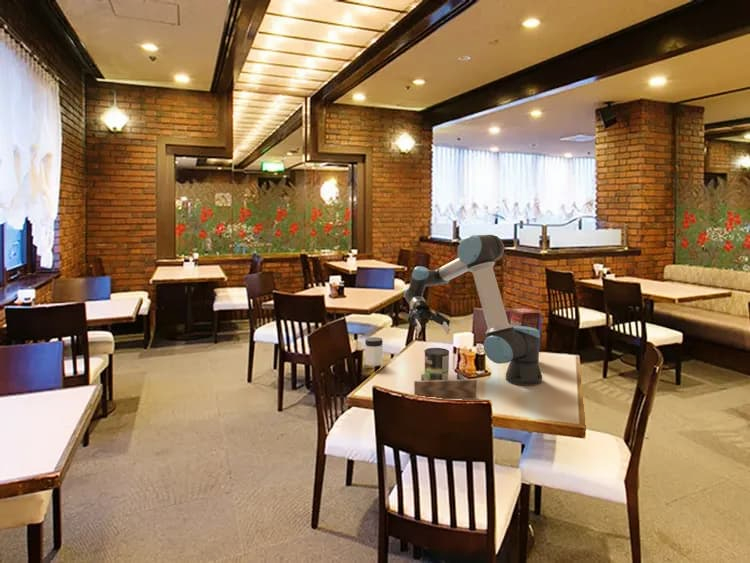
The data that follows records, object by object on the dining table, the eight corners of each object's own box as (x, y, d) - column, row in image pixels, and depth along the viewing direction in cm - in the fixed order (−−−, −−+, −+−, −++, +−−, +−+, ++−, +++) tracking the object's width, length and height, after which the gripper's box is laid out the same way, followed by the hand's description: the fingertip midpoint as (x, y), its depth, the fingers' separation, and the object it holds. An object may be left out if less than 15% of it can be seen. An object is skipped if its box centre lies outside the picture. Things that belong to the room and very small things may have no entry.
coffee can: (430, 388, 216) (431, 355, 214) (420, 381, 226) (420, 348, 224) (453, 385, 220) (453, 352, 218) (441, 378, 229) (442, 346, 227)
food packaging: (508, 357, 261) (509, 308, 257) (525, 356, 262) (527, 307, 259) (520, 365, 248) (522, 313, 244) (539, 364, 249) (541, 312, 246)
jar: (370, 367, 246) (370, 342, 244) (361, 363, 252) (361, 338, 251) (386, 364, 250) (386, 339, 249) (377, 360, 257) (377, 336, 256)
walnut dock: (469, 389, 215) (470, 372, 214) (476, 397, 205) (476, 380, 204) (411, 391, 213) (411, 374, 212) (414, 399, 203) (415, 382, 202)
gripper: (442, 316, 253) (458, 339, 235) (393, 312, 246) (405, 335, 228) (446, 302, 251) (462, 325, 232) (396, 297, 243) (409, 320, 225)
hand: (434, 330), depth 230 cm, fingers open, 13 cm apart
